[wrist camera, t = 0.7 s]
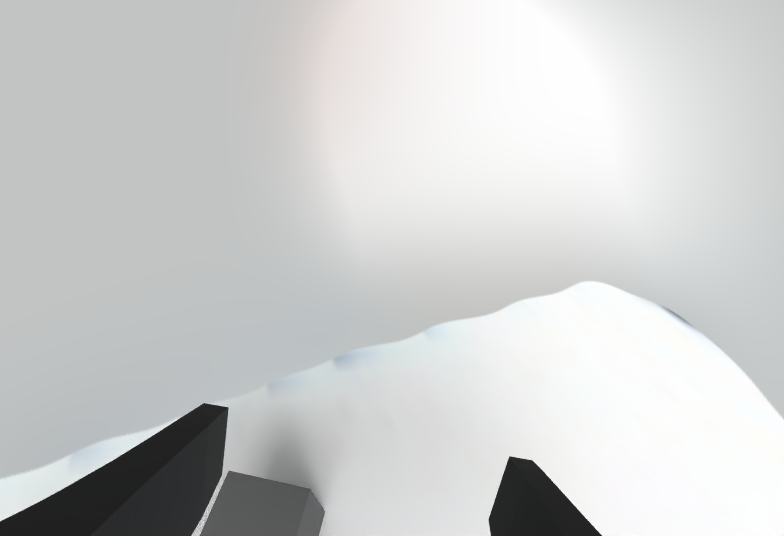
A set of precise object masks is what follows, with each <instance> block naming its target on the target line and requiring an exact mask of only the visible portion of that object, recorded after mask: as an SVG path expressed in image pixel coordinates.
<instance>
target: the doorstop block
mask: <svg viewBox="0 0 784 536" xmlns="http://www.w3.org/2000/svg"><path fill="white" fill-rule="evenodd" d="M324 513H325V512H324V510H323V508H322V507H321V505H320V504H319V502H318V501H317V499H316V497H315V496H314V494H313V493H312V491H311V490H310V489H307V488H303V487H298V486H294V485H290V484H285V483H281V482H276V481H272V480H268V479H263V478H259V477H254V476H250V475H245V474H241V473H237V472H232V471H229V472H228V474H227V476H226V478H225V481H224V483H223V485H222V487H221V490H220V492H219V494H218V496H217V498H216V501H215V503H214V505H213V507H212V510H211V512H210V514H209V516H208V519H207V521H206V523H205V525H204V528H203V530H202V532H201V534H200V536H319V532H320V528H321V524H322V521H323V517H324Z"/></svg>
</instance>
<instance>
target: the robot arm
mask: <svg viewBox="0 0 784 536" xmlns="http://www.w3.org/2000/svg"><path fill="white" fill-rule="evenodd" d="M227 418H228V407H222V406H217V405H211V404H205V403H204V404H202V405H201V406H199V407H197V408H196V409H194V410H193V411H191V412H189V413H188V414H186V415H185V416H183V417H181V418H180V419H178V420H177V421H175V422H174V423H172V424H171V425H169V426H167V427H166V428H164V429H163V430H161V431H160V432H158V433H156V434H155V435H153V436H152V437H150V438H149V439H147V440H145V441H144V442H142V443H141V444H139V445H137V446H136V447H134V448H132V449H131V450H129V451H128V452H126V453H124V454H123V455H121V456H119V457H118V458H116V459H115V460H113V461H111V462H109V463H108V464H106V465H104V466H102V467H101V468H99V469H97V470H95V471H94V472H92V473H90V474H88V475H87V476H85V477H83V478H82V479H80V480H78V481H76V482H75V483H73V484H71V485H69V486H68V487H66V488H64V489H62V490H61V491H59V492H57V493H55V494H53V495H51V496H49V497H47V498H46V499H44V500H42V501H40V502H38V503H36V504H34V505H32V506H30V507H28V508H26V509H25V510H23V511H21V512H19V513H16V514H14V515H12V516H10V517H8V518H6V519H4V520H2V521H0V536H191V535H192V533H193V532H194V530H195V528H196V527H197V525H198V523H199V522H200V520H201V518H202V516H203V514H204V512H205V510H206V508H207V506H208V504H209V501H210V499H211V497H212V495H213V493H214V491H215V489H216V486H217V484H218V482H219V480H220V478H221V476H222V468H223V458H224V448H225V438H226V428H227ZM489 525H490V532H491V536H602V535H601V534H600V533H599V532H598V531H597V530H596V529H595V528H594V527H593V526H592V525H591V523H590V522H589V521H588V520H587V519H586V518H585V517H584V516H583V515H582V514H581V513H580V511H579V510H578V509H577V508H576V507H575V506H574V505H573V504H572V503H571V501H570V500H569V499H568V498H567V497H566V496H565V495H564V494H563V493H562V492H561V490H560V489H559V488H558V487H557V486H556V485H555V484H554V483H553V482H552V481H551V479H550V478H549V477H548V476H547V475H546V474H545V473H544V472H543V471H542V470H541V469H540V468H539V467H538V466H537V465H536V464H535V463H534V462H533V461H532V460H527V459H521V458H515V457H509V459H508V462H507V465H506V468H505V471H504V474H503V477H502V480H501V483H500V486H499V489H498V493H497V496H496V499H495V502H494V505H493V508H492V511H491V514H490V517H489Z"/></svg>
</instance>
